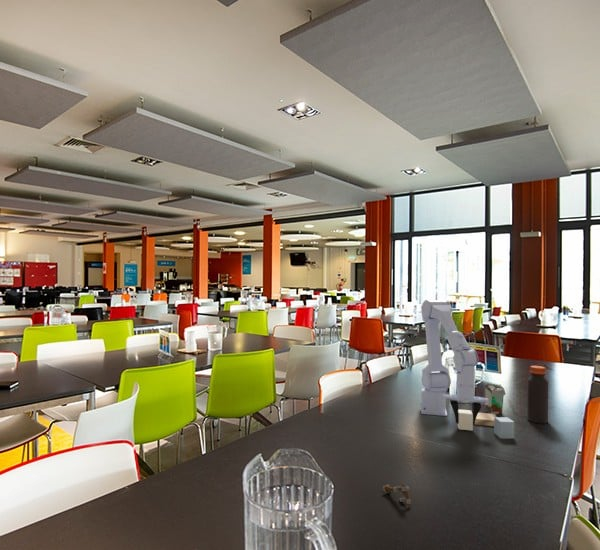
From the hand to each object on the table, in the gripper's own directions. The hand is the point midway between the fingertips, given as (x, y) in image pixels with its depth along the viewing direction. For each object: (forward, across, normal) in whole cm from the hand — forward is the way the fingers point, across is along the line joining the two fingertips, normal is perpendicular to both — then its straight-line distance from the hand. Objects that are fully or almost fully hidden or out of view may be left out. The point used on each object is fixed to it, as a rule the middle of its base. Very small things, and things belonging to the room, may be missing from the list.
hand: (465, 423), depth 145 cm
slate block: (+2, +12, -2) cm, 12 cm away
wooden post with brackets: (+2, -20, -54) cm, 57 cm away
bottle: (+2, +27, +18) cm, 32 cm away
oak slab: (+3, +8, +11) cm, 14 cm away
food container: (+2, +14, +24) cm, 28 cm away
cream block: (+2, 0, 0) cm, 2 cm away
